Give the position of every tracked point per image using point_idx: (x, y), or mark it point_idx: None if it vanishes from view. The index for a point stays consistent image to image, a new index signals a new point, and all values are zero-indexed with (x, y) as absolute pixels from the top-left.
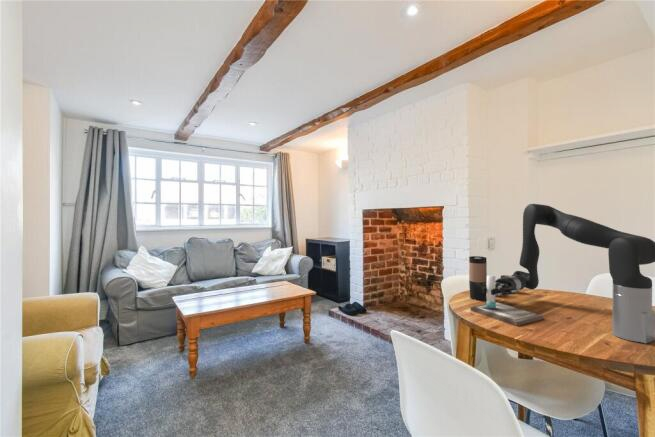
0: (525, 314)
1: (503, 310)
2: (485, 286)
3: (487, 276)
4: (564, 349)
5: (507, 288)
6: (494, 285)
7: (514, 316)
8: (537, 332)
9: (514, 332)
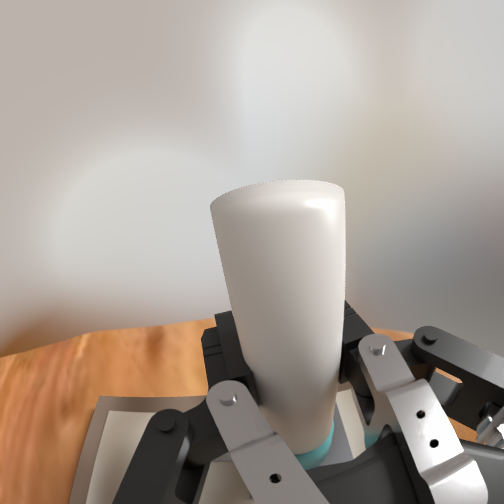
0: None
1: (229, 492)
2: (403, 352)
3: (283, 180)
4: (7, 357)
5: (143, 472)
6: (235, 321)
7: (127, 447)
8: (47, 406)
9: (96, 356)
